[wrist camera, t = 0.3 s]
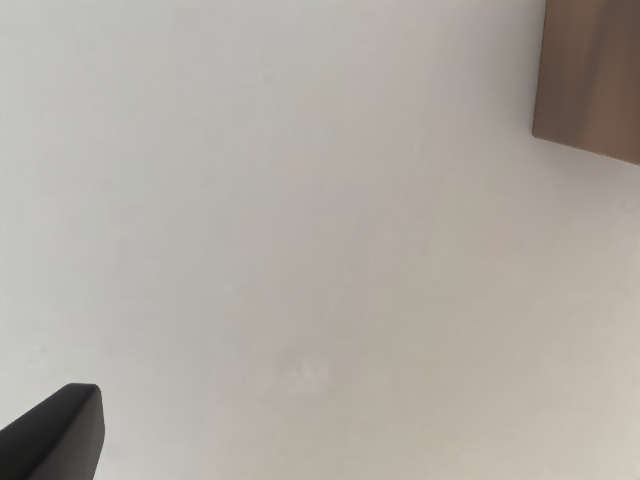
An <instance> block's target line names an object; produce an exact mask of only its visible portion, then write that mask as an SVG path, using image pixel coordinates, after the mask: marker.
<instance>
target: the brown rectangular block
mask: <svg viewBox="0 0 640 480" xmlns="http://www.w3.org/2000/svg"><path fill="white" fill-rule="evenodd" d="M533 136H534V137H537V138H540V139H544V140H548V141H551V142H555V143H559V144H562V145H566V146H570V147H574V148H577V149H581V150H585V151H588V152H592V153H596V154H599V155H603V156H607V157H610V158H614V159H618V160H622V161H625V162H629V163H633V164H636V165H640V0H547V8H546V17H545V26H544V35H543V44H542V53H541V62H540V71H539V80H538V89H537V98H536V107H535V116H534V125H533Z"/></svg>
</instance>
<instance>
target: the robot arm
mask: <svg viewBox="0 0 640 480" xmlns="http://www.w3.org/2000/svg"><path fill="white" fill-rule="evenodd" d="M104 436H105V424H104V415H103V405H102V396H101V391H100V388H99V387H98V386H97V385H96V384H84V383H70V384H67V385H66V386H64V387H62V388H61V389H60V390H58V391H57V392H55V393H54V394H52V395H51V396H49V397H48V398H47V399H45V400H44V401H42V402H41V403H39V404H38V405H37V406H35V407H34V408H32V409H31V410H29V411H28V412H27V413H25V414H24V415H22V416H21V417H19V418H18V419H16V420H15V421H14V422H12V423H11V424H9V425H8V426H6V427H5V428H4V429H2V430H1V431H0V480H93V477H94V474H95V471H96V467H97V464H98V460H99V457H100V453H101V450H102V446H103V442H104Z"/></svg>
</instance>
